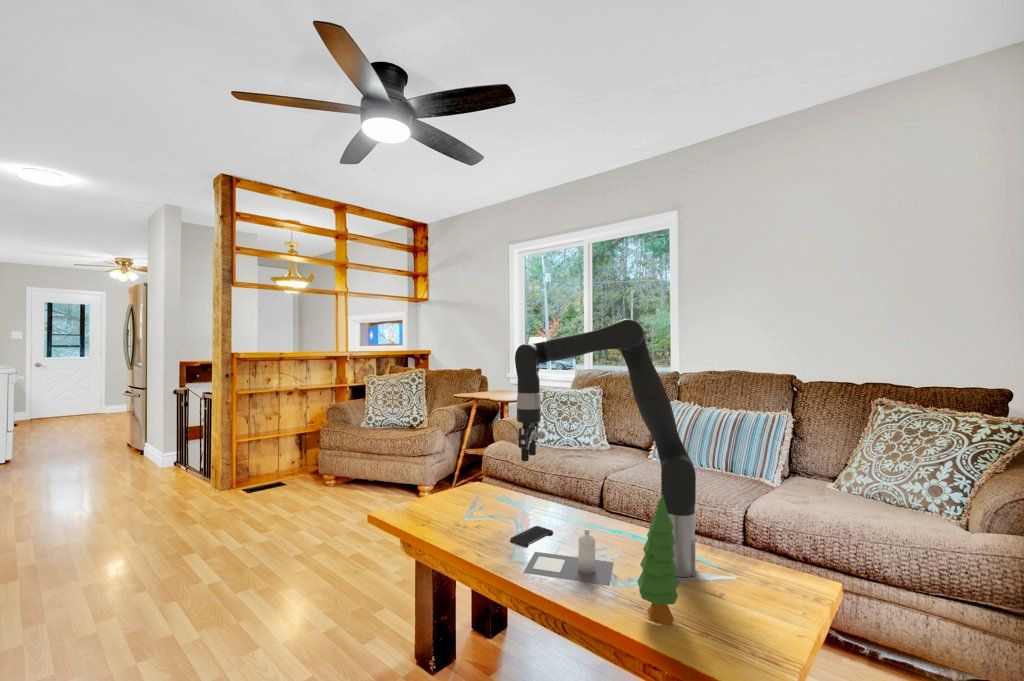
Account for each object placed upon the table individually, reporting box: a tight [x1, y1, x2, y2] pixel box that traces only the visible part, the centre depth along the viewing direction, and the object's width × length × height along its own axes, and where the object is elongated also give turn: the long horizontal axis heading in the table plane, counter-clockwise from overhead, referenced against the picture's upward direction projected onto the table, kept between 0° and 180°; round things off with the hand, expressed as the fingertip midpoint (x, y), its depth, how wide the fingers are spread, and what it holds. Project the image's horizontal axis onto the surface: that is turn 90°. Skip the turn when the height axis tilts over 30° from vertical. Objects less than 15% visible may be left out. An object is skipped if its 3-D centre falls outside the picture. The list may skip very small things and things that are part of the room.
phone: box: [510, 525, 554, 548], centre depth 159 cm, size 8×1×15 cm
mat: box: [522, 551, 614, 586], centre depth 137 cm, size 24×14×1 cm, turn 73°
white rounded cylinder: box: [577, 528, 596, 574], centre depth 135 cm, size 5×5×12 cm
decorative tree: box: [637, 494, 680, 625], centre depth 114 cm, size 10×9×30 cm
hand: (528, 458), depth 150 cm, fingers open, 8 cm apart
